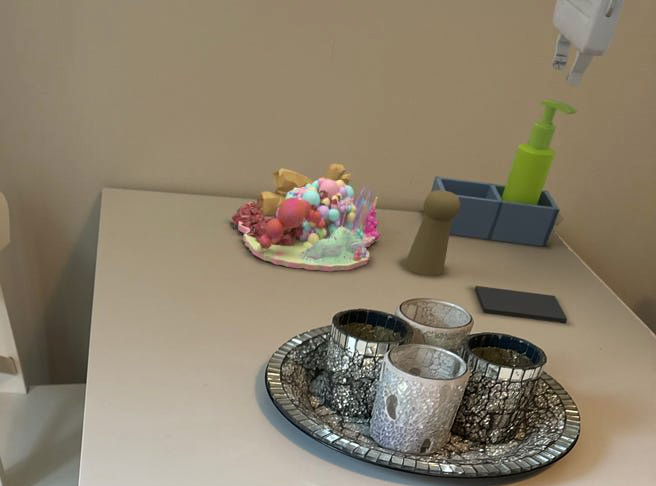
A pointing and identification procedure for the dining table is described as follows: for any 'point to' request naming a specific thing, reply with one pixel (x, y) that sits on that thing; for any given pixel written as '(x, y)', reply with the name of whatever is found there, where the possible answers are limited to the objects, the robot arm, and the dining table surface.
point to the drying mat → (520, 304)
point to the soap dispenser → (534, 158)
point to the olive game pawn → (433, 234)
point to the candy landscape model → (310, 222)
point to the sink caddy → (498, 213)
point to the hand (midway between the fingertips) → (564, 76)
